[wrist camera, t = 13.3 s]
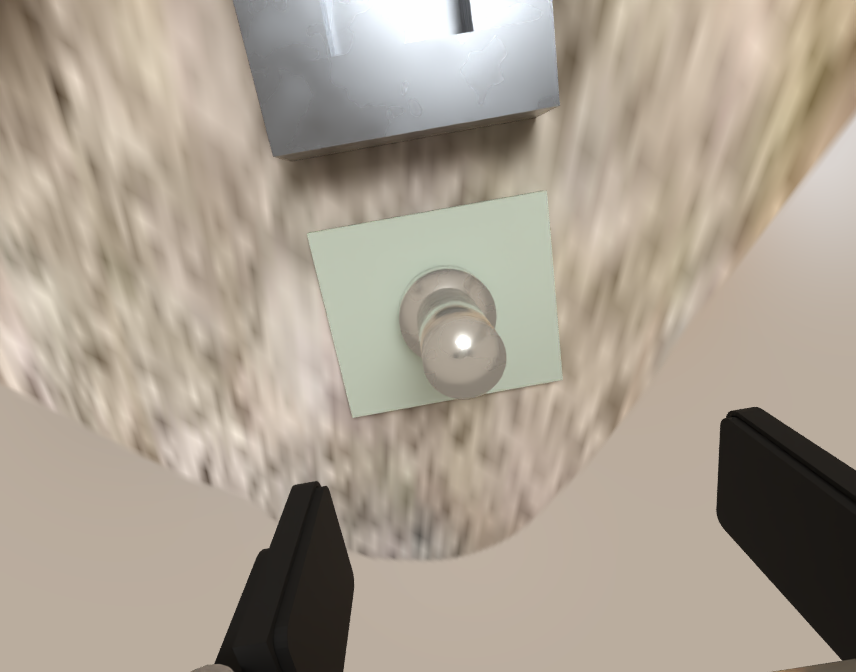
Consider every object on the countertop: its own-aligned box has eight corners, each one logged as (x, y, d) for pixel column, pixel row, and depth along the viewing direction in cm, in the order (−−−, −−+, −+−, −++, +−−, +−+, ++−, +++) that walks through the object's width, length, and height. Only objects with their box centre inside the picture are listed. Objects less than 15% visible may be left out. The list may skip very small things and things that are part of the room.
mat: (542, 190, 27) (546, 190, 27) (558, 375, 31) (562, 379, 30) (309, 232, 27) (306, 233, 26) (353, 412, 31) (352, 417, 30)
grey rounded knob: (485, 258, 28) (524, 286, 19) (494, 346, 29) (534, 409, 21) (392, 272, 27) (389, 307, 19) (406, 359, 29) (409, 428, 20)
